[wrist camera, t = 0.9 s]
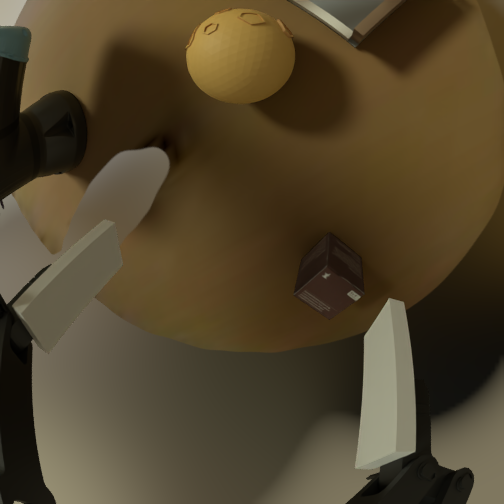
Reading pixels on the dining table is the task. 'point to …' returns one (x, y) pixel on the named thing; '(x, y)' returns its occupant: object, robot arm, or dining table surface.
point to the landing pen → (350, 15)
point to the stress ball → (240, 55)
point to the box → (330, 277)
